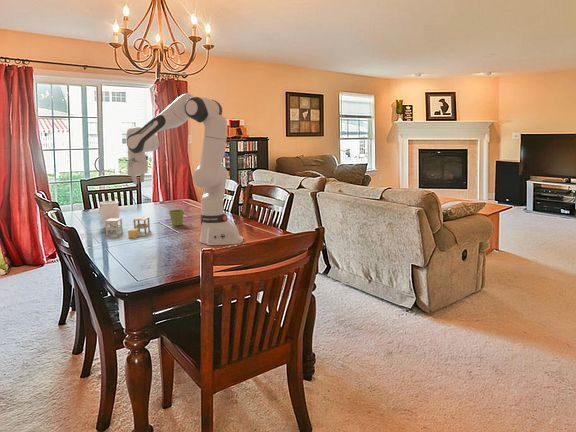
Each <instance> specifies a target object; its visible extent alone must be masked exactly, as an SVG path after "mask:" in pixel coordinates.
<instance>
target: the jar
mask: <svg viewBox="0 0 576 432" xmlns="http://www.w3.org/2000/svg"><path fill="white" fill-rule="evenodd" d="M99 205H100V209H99V213H100V218H101V221H102V224H103V228H105V229H106V225H105V221H106V220H108V219H110V218H120V208H119V201H118V200H104V201H100V202H99ZM117 223H118V224H119V223H120V221H118V222H117ZM112 225H116V222H112ZM108 226H110V222H107V227H108Z"/></svg>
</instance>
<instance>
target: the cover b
mask: <svg viewBox="0 0 576 432" xmlns="http://www.w3.org/2000/svg"><path fill="white" fill-rule="evenodd" d="M122 219H123V218H121V217H119V218H110V219H108V220H106V221H105V225H106V228H105V234H106V236H108V235H109V231H110V233H111V234H113V233H114V232H113V231H115V232H116V236H119V230H120V233H121V234H123V230H124V228H123V220H122ZM118 221H119V222H118ZM107 222H110V226H108V227H107ZM112 222H116V225H112ZM117 222H118V223H117ZM119 223H120V224H119Z"/></svg>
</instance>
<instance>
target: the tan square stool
mask: <svg viewBox="0 0 576 432" xmlns="http://www.w3.org/2000/svg"><path fill="white" fill-rule="evenodd" d="M136 221H137V222H136ZM140 221H143V223H140ZM146 222H147V223H146ZM136 223H137V224H136ZM150 224H151V223H150V217H149V216H138V217H136V218H133V229H138V232H141V229H144V231H143V232H144V234H145V235H146V234H147V230H148V232H151V227H150V226H151V225H150Z"/></svg>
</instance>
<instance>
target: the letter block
mask: <svg viewBox="0 0 576 432" xmlns="http://www.w3.org/2000/svg"><path fill="white" fill-rule="evenodd" d="M127 233H128V234H127V236H128V238H133V239H135V238H137V237H140V236H139V234H140V233H139V231H138V229H134V228H129V229H128V230H127Z"/></svg>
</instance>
